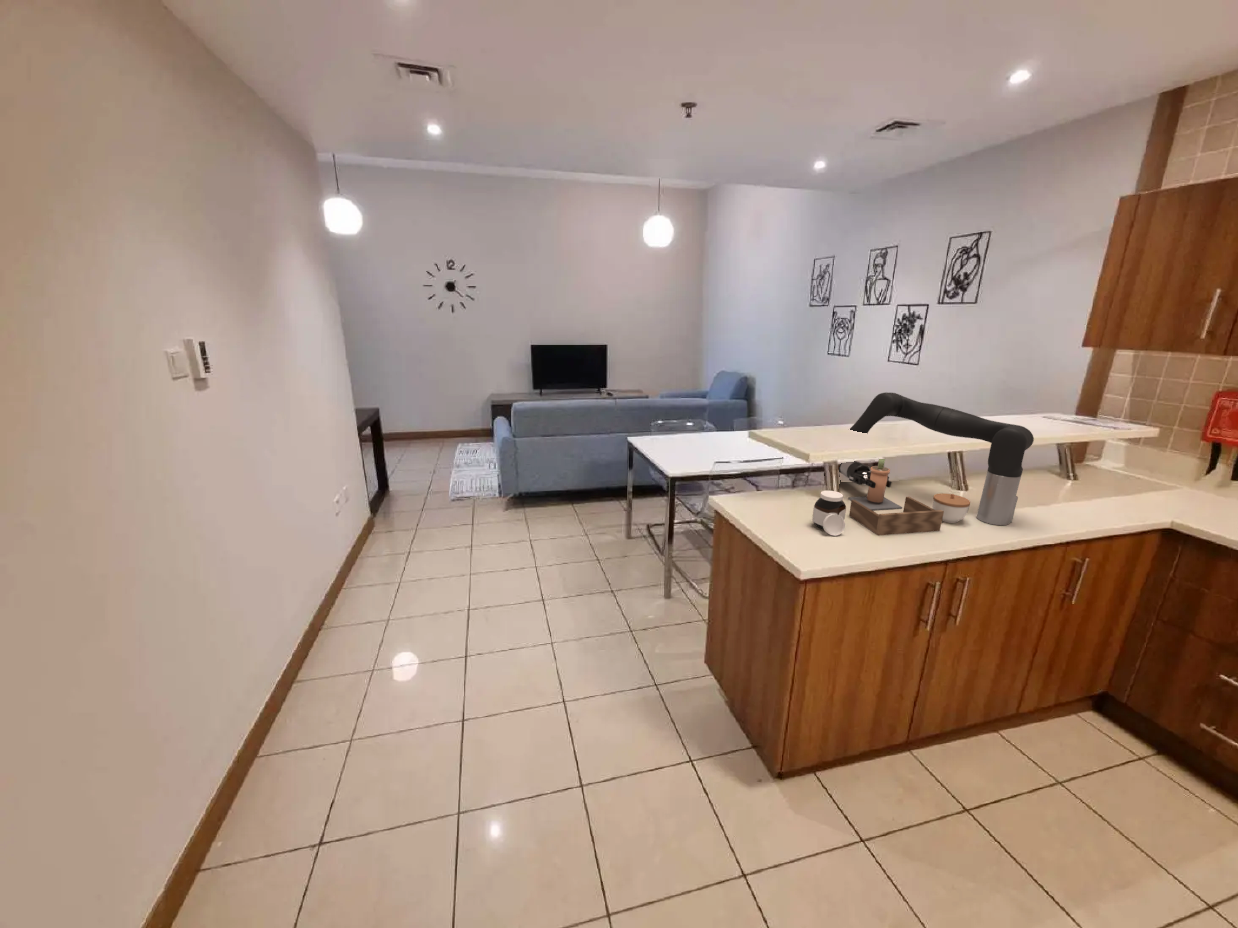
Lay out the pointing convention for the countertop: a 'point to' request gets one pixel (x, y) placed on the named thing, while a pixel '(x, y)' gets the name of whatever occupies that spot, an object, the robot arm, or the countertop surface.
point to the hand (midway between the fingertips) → (882, 485)
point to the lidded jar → (951, 506)
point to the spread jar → (830, 512)
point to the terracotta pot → (878, 482)
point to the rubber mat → (876, 503)
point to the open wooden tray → (898, 518)
